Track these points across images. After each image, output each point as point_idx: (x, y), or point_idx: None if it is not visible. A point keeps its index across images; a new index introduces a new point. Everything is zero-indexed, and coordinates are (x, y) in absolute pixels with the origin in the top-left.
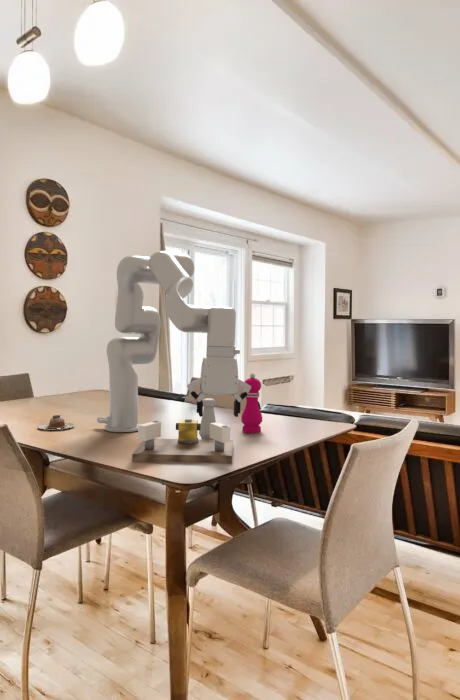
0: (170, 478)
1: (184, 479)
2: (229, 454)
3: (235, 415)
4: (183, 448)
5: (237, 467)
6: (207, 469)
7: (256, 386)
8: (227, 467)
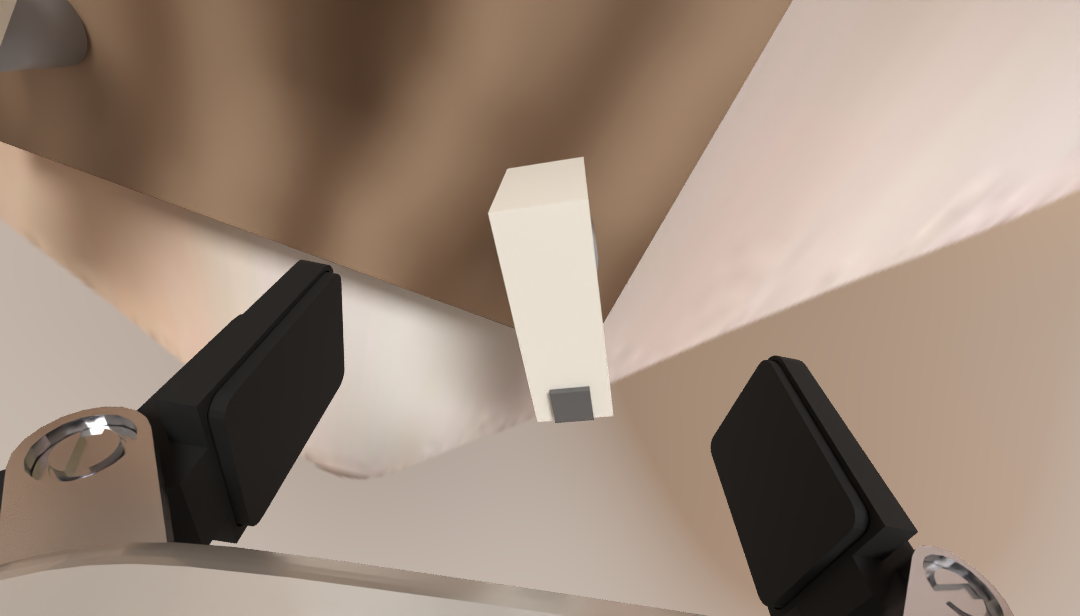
0: None
1: (334, 444)
2: None
3: (713, 454)
4: (323, 85)
5: None
6: (442, 372)
7: None
8: None
